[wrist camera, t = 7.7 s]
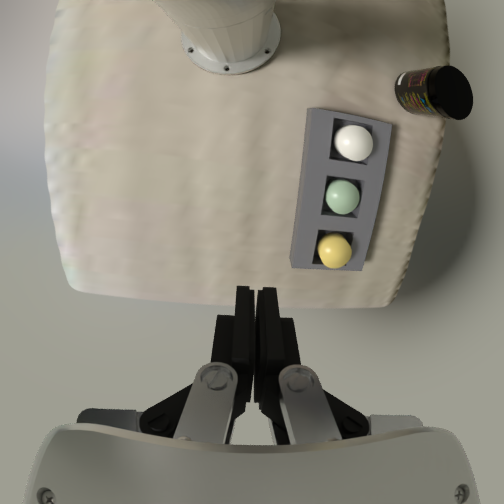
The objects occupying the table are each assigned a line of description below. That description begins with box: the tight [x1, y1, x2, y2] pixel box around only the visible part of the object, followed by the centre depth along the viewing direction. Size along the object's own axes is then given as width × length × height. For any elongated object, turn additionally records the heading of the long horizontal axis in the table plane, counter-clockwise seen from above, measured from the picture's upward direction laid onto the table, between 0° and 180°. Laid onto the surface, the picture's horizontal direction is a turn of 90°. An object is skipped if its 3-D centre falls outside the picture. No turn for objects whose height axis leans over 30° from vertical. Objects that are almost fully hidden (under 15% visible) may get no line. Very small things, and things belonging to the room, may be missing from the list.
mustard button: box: [317, 232, 352, 268], centre depth 37 cm, size 4×4×2 cm
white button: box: [334, 125, 373, 161], centre depth 30 cm, size 4×4×2 cm
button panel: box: [290, 108, 392, 271], centre depth 35 cm, size 22×11×3 cm, turn 176°
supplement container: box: [395, 66, 473, 120], centre depth 24 cm, size 7×7×10 cm
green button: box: [324, 178, 359, 214], centre depth 35 cm, size 4×4×2 cm
